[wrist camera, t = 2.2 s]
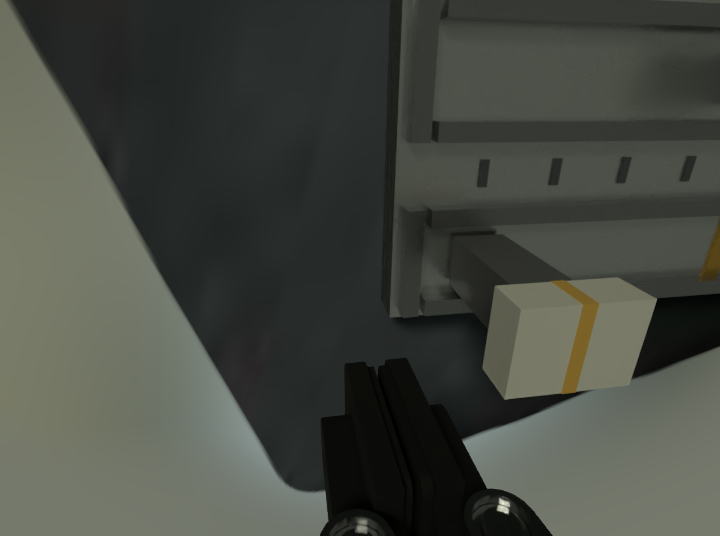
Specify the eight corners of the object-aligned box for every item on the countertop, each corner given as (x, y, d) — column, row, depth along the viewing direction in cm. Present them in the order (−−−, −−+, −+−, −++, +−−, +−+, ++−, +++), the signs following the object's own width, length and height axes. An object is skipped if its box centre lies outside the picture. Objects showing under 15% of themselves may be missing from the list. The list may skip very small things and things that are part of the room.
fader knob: (433, 228, 18) (521, 309, 12) (523, 224, 19) (658, 298, 12) (428, 293, 20) (504, 400, 13) (513, 287, 20) (629, 386, 13)
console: (390, -8, 17) (409, -26, 14) (829, 13, 20) (908, 1, 17) (381, 299, 22) (393, 325, 19) (726, 275, 25) (775, 295, 23)
